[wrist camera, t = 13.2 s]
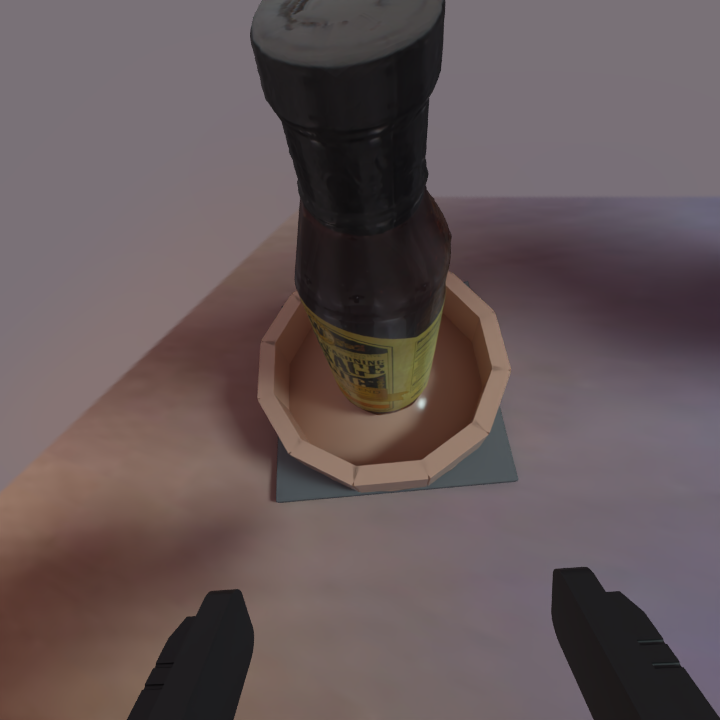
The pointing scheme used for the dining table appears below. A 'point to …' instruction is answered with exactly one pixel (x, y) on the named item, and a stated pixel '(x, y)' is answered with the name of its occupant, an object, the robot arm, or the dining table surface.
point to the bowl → (389, 431)
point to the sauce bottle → (362, 183)
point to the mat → (475, 469)
